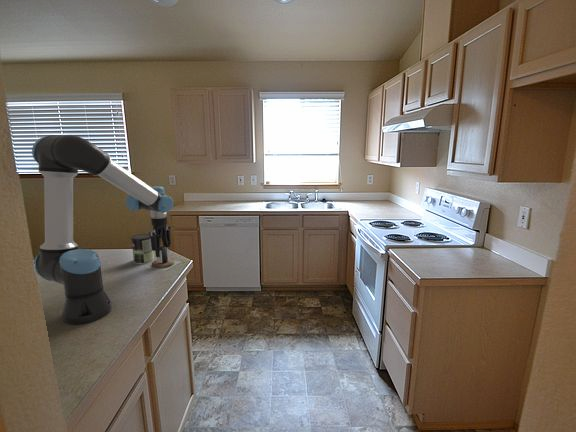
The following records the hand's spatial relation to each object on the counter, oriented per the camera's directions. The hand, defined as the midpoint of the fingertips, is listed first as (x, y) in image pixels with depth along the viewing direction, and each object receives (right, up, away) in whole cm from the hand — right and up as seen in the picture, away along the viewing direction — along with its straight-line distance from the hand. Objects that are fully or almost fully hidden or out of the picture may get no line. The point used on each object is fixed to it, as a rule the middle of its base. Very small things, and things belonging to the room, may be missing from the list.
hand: (162, 260), depth 162 cm
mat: (0, -2, +1) cm, 2 cm away
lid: (0, -2, 0) cm, 2 cm away
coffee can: (-13, -1, +6) cm, 14 cm away
